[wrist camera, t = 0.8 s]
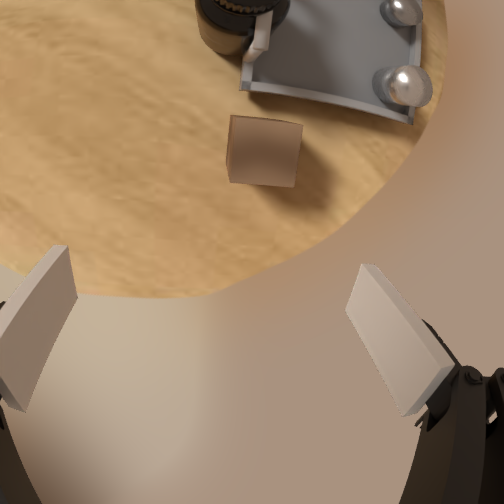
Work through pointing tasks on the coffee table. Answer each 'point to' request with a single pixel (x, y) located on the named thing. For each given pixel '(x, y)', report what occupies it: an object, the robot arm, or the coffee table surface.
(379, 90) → the silver rounded piece
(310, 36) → the grey tray with handle
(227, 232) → the coffee table surface
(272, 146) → the walnut block
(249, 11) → the supplement bottle
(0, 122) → the coffee table surface
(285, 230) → the coffee table surface
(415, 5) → the silver metal dome
